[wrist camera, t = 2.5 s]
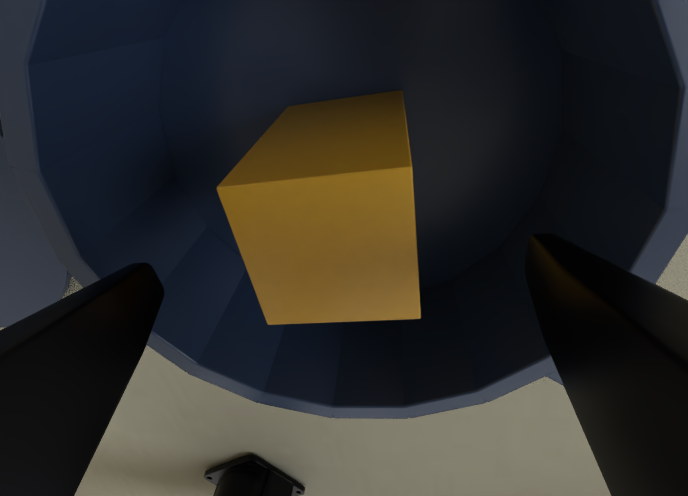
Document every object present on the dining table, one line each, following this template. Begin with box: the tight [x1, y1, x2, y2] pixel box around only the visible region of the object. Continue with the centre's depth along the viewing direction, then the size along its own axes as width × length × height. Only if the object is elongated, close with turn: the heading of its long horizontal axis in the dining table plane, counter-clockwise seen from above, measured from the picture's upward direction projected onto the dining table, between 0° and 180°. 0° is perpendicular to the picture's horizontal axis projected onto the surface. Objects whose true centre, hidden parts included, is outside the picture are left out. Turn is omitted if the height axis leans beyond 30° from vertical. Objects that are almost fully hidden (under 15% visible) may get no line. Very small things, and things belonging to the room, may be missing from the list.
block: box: [217, 90, 421, 325], centre depth 12 cm, size 4×4×7 cm
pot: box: [0, 0, 688, 419], centre depth 12 cm, size 17×22×6 cm
